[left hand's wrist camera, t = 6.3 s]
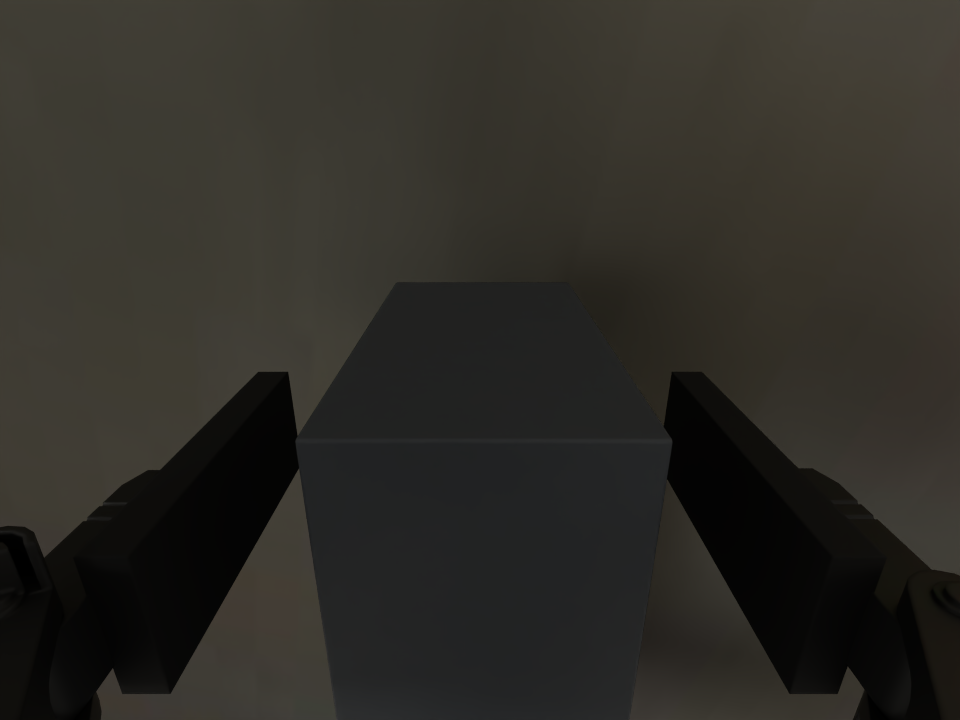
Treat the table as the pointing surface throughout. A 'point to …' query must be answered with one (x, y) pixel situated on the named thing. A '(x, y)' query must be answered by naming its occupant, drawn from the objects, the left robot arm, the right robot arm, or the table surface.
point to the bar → (483, 510)
